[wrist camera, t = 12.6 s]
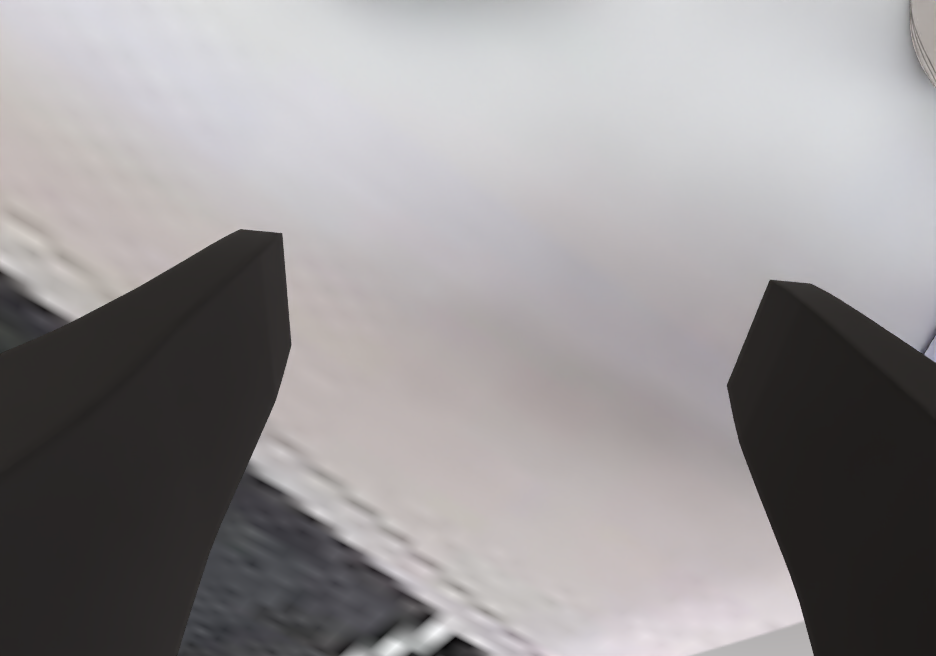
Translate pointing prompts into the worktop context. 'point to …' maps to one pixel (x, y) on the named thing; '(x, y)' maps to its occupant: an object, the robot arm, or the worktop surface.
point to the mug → (924, 35)
